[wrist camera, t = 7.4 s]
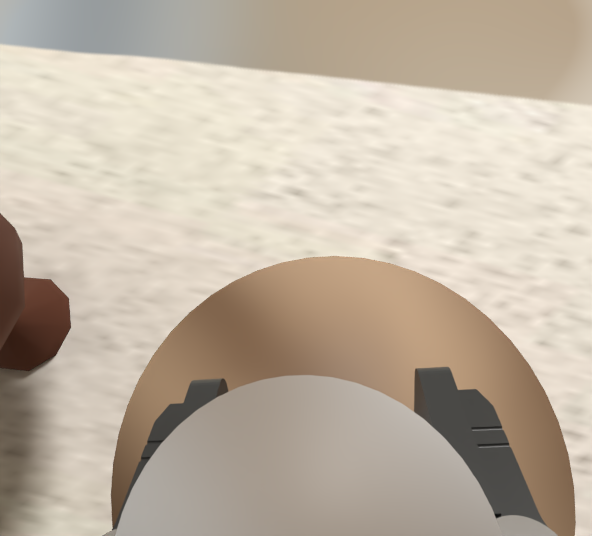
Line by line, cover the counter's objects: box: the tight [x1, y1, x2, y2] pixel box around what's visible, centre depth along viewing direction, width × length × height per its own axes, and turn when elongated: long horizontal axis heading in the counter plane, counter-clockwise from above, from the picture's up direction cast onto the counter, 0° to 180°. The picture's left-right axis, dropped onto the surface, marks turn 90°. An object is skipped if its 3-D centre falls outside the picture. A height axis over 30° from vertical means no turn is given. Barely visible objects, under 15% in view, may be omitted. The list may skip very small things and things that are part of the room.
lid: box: [111, 256, 576, 536], centre depth 10 cm, size 13×13×10 cm
